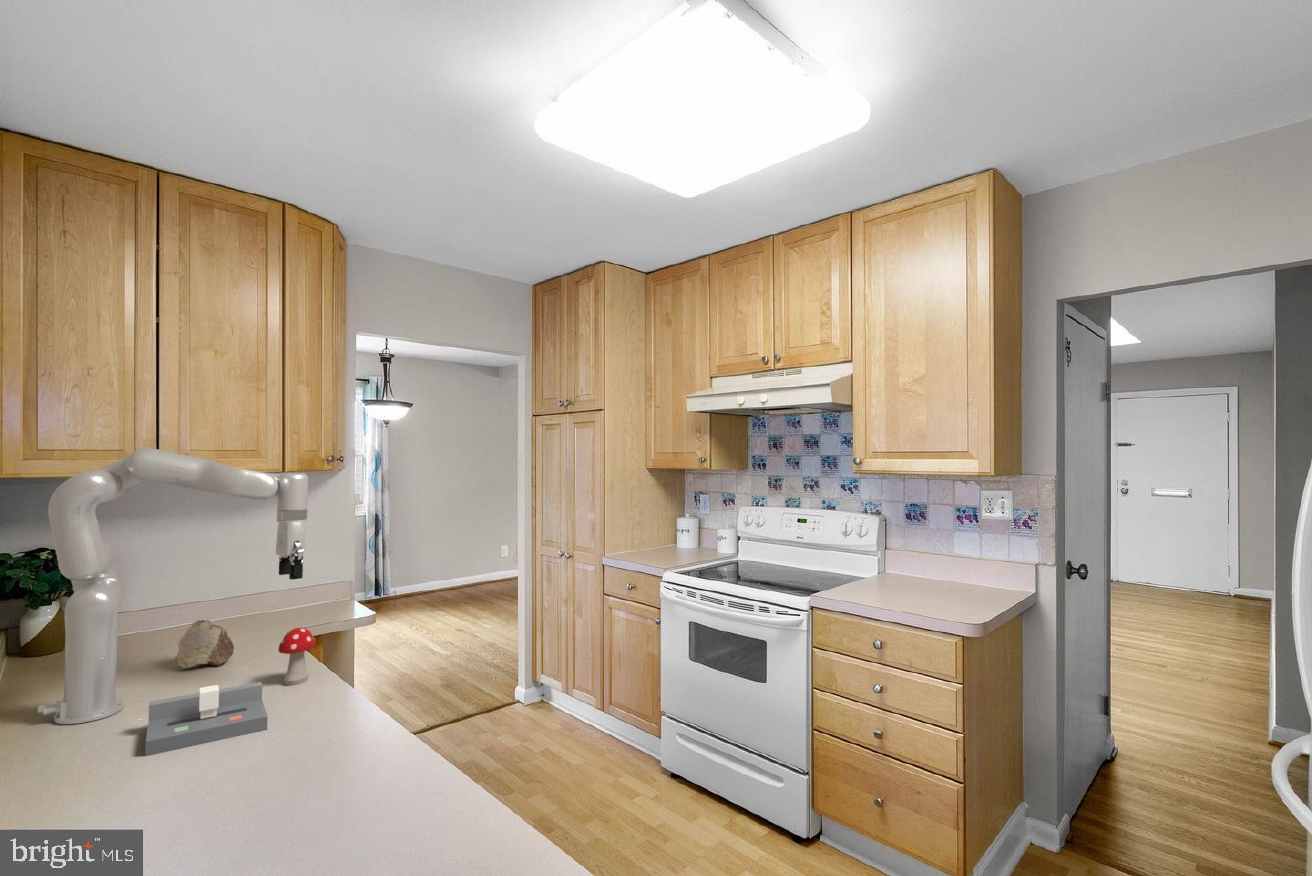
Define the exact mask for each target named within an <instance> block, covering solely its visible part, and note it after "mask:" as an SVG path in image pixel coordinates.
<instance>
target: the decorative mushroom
mask: <svg viewBox="0 0 1312 876" xmlns="http://www.w3.org/2000/svg"><path fill="white" fill-rule="evenodd" d="M314 637H315V636H313V634H312V633H311V631H310V630H309V629H307V628H304V627H296V628H293V629H291V630H289V631H288V632H287V633H286V634H285V635H284V636H283V639H282V640H281V642H280V643H279V646H278V650H277V651H278V653H280V654H285V655H287V654H288V655H289V657H288V658H289V660H288V665H287V670H286V674H285V675H284V679H283V681H284V685H286V686H296V685H301V684H302V683H305V682H306V681H307V680H308V677H309V675H310V674H309V672H308V669H307V665H306V658H305V652H307V651H309V650H312V649H314V647H315V646H316V644H317V643H316V639H315V638H314Z"/></svg>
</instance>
